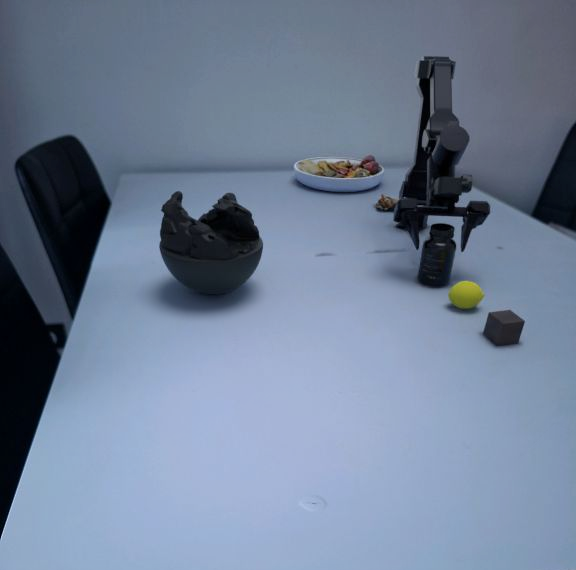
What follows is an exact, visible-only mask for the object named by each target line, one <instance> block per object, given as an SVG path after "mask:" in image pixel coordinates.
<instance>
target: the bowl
mask: <svg viewBox="0 0 576 570" xmlns="http://www.w3.org/2000/svg"><path fill="white" fill-rule="evenodd" d="M293 172H294V176H295V178H296V180H297V181H298V182H300V183H301V184H302V185H304V186H306V187H308V188H312V189H314V190H319V191H325V192H332V193H333V192H335V193H353V192H361V191H367V190H370V189H373V188H375V187H376V186H377V185H379V184H380V183H381V182H382V180H383V178H384V176H385V168H384V167H383V166H382V165H380V164H379V163H378V162H377V161H376V158H375V156H374V155H372V154H368V155H366V156H364V158H363V159H359V158H354V157H342V156H322V157H321V156H320V157H311V158H310V157H309V158H305V159H301V160H298V161H297V162H295V163H294V165H293Z"/></svg>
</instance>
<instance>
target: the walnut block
mask: <svg viewBox="0 0 576 570" xmlns="http://www.w3.org/2000/svg"><path fill="white" fill-rule="evenodd" d="M525 323H526V321H525V320H524V319H523V318H522V317H520V316H519V315H518V314H517V313H515V312H514V311H512V310H511V309H507V310H505V309H504V310H497V311H490V312H488V314H487V317H486V321H485V325H484V328H483V331H482V332H483V333H482V335H483V336H485V338H487V339H488V340H489V341H490V342H491V343H493V344H494V345H495V346H496V347H501V346H507V345H514V344H518V343H519V342H520V339H521V336H522V333H523V330H524V326H525Z"/></svg>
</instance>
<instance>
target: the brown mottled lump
mask: <svg viewBox="0 0 576 570" xmlns="http://www.w3.org/2000/svg"><path fill="white" fill-rule="evenodd" d="M380 197H381V198H380V199H378V200H377V202H376V203H375V208H379V209H381V210H388V209H393V210H394V209H395V206H396V203H397V201H398V200H399V199H397V198H393V197H391V196H385V194H383V193H381V195H380Z"/></svg>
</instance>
